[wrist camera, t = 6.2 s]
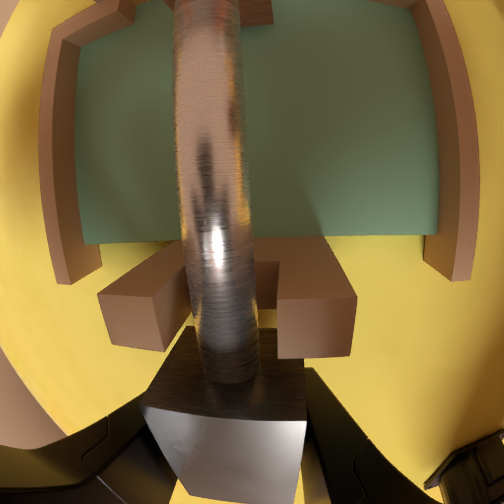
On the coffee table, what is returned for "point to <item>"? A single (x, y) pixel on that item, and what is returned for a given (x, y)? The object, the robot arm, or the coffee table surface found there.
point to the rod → (222, 285)
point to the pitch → (262, 156)
